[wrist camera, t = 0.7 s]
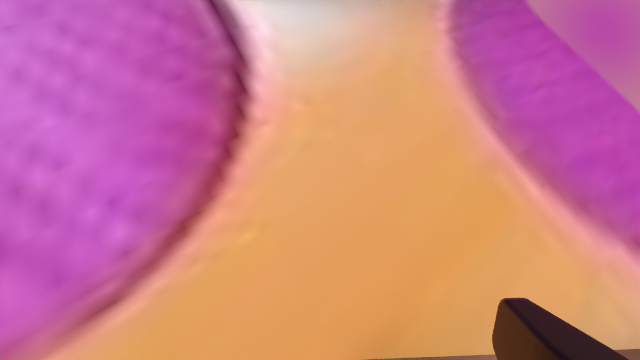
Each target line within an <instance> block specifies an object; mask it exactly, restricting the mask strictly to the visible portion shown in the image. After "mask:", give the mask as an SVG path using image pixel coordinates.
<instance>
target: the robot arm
mask: <svg viewBox="0 0 640 360" xmlns="http://www.w3.org/2000/svg"><path fill="white" fill-rule="evenodd" d="M492 342H493V348H494V352H495V355H496V358H497V360H629V359H628V358H626V357H624V356H623V355H621V354H619V353H618V352H616V351H614V350H612V349H611V348H609V347H607V346H606V345H604V344H602V343H601V342H599V341H597V340H596V339H594V338H592V337H591V336H589V335H587V334H585V333H584V332H582V331H580V330H579V329H577V328H575V327H574V326H572V325H570V324H569V323H567V322H565V321H563V320H562V319H560V318H558V317H557V316H555V315H553V314H552V313H550V312H548V311H547V310H545V309H543V308H541V307H540V306H538V305H536V304H535V303H533V302H531V301H530V300H528V299H526V298H504V299H502V300H501V301H500V303H499V305H498V310H497V315H496V320H495V325H494V330H493V335H492Z"/></svg>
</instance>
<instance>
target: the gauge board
mask: <svg viewBox="0 0 640 360" xmlns="http://www.w3.org/2000/svg"><path fill="white" fill-rule="evenodd" d="M614 351H616V352H618V353H619V354H621V355H623V356H624V357H626V358H628V359H629V360H640V349H629V350H614ZM370 360H497V358H496V355H474V356H448V357H422V358H396V359H370Z"/></svg>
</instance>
